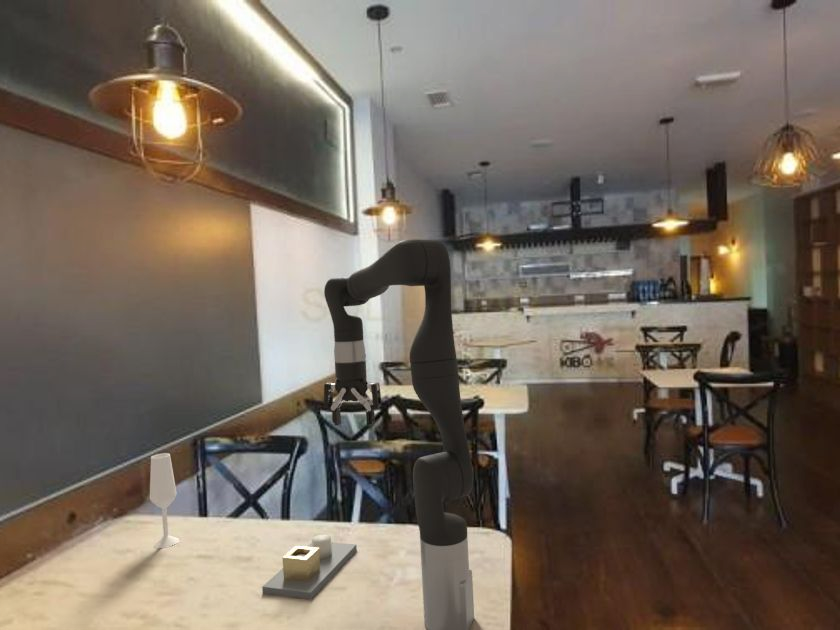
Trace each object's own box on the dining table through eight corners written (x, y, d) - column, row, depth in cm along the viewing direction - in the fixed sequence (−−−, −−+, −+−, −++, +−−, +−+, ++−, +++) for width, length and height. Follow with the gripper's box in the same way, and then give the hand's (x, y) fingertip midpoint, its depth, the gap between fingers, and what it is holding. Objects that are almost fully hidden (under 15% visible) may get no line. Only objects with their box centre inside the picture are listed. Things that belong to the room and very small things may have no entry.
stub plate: (356, 550, 146) (355, 528, 146) (311, 599, 123) (309, 574, 123) (314, 546, 150) (313, 525, 150) (262, 593, 127) (261, 568, 127)
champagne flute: (184, 537, 160) (178, 452, 159) (170, 548, 153) (164, 459, 152) (162, 537, 161) (156, 452, 160) (147, 547, 154) (141, 459, 153)
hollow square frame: (320, 569, 134) (318, 548, 134) (307, 581, 128) (306, 559, 128) (297, 566, 136) (295, 545, 135) (283, 579, 130) (282, 557, 130)
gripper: (316, 361, 138) (320, 428, 139) (371, 360, 134) (375, 429, 134) (330, 357, 145) (334, 421, 146) (383, 357, 141) (386, 422, 142)
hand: (353, 425), depth 140 cm, fingers open, 8 cm apart
